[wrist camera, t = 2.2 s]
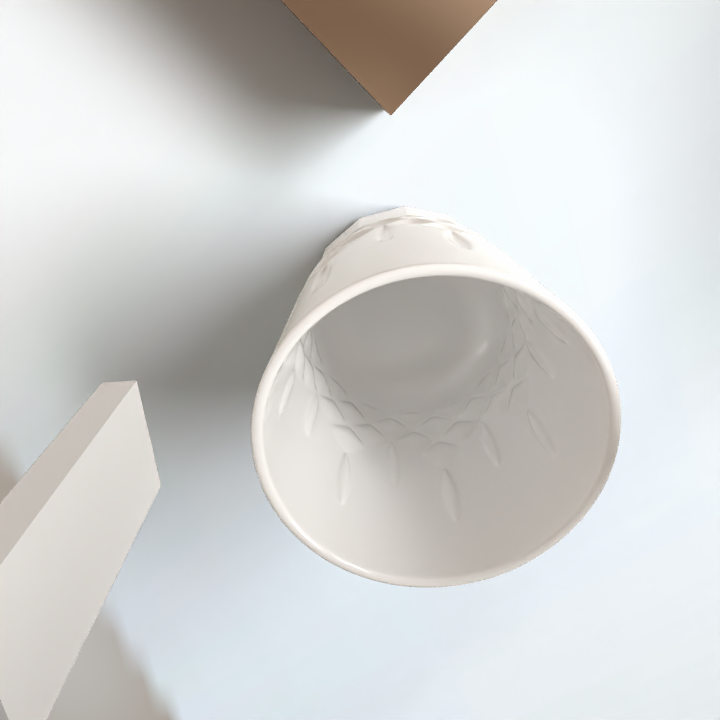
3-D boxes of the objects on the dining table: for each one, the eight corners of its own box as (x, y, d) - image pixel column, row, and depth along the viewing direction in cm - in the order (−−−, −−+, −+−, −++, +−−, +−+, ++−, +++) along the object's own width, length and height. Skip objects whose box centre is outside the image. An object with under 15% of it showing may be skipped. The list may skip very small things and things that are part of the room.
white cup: (421, 136, 21) (471, 176, 12) (559, 311, 23) (691, 460, 14) (248, 290, 23) (172, 428, 14) (390, 437, 25) (408, 640, 16)
